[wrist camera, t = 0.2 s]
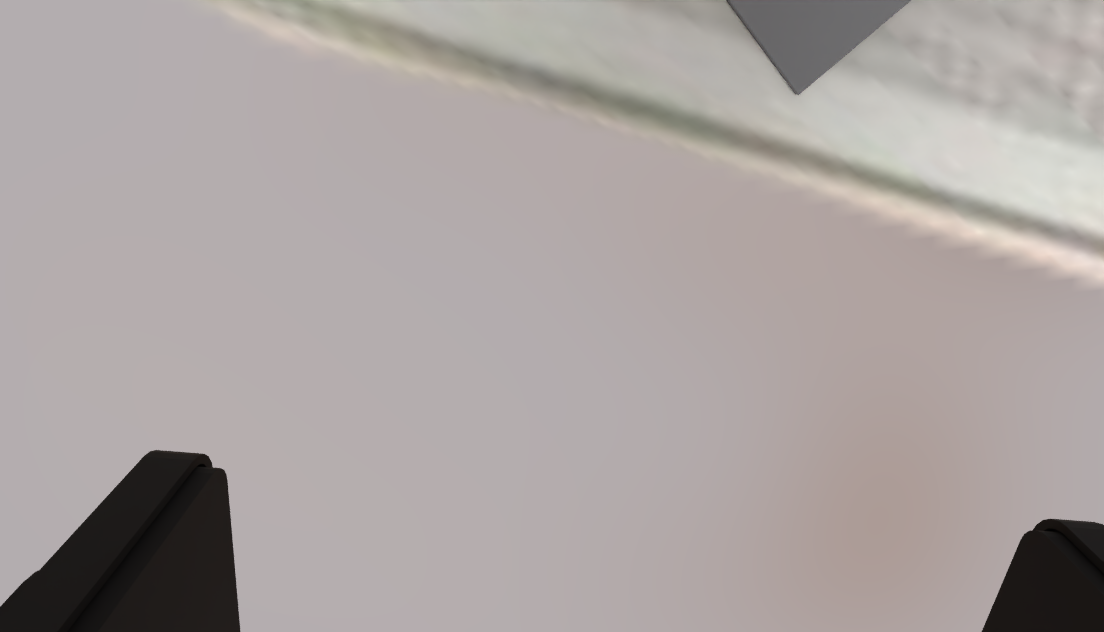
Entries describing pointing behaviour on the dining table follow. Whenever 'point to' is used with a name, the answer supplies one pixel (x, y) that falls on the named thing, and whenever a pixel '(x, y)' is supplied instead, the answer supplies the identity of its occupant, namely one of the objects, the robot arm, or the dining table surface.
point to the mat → (811, 31)
